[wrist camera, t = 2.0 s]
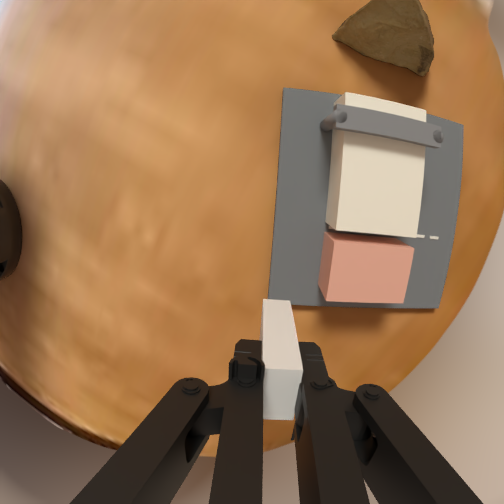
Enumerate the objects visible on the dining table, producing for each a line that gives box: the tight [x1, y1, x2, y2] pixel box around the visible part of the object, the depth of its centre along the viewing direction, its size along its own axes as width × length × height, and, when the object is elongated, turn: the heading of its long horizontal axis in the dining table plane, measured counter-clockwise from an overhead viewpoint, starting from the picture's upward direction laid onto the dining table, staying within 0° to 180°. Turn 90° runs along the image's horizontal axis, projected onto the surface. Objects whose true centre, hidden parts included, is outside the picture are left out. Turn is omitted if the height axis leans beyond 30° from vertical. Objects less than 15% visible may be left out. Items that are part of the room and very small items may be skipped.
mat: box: [268, 88, 463, 308], centre depth 30 cm, size 21×22×1 cm
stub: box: [318, 232, 414, 303], centre depth 29 cm, size 8×6×4 cm
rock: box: [332, 0, 434, 76], centre depth 23 cm, size 11×9×10 cm
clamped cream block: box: [320, 92, 444, 238], centre depth 26 cm, size 11×12×6 cm
